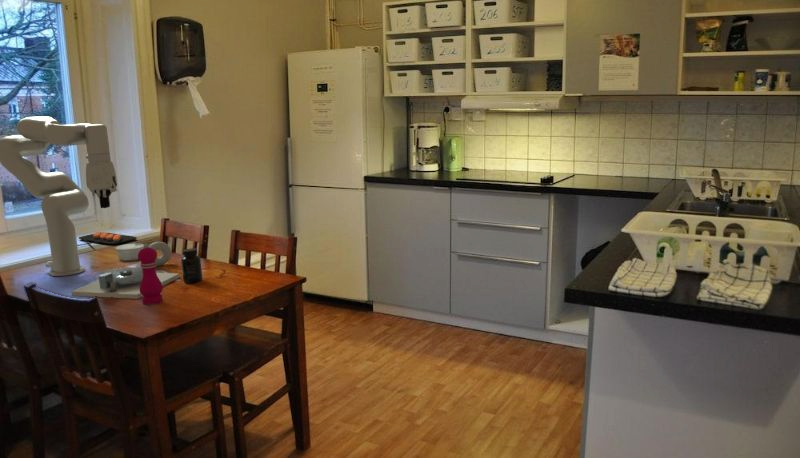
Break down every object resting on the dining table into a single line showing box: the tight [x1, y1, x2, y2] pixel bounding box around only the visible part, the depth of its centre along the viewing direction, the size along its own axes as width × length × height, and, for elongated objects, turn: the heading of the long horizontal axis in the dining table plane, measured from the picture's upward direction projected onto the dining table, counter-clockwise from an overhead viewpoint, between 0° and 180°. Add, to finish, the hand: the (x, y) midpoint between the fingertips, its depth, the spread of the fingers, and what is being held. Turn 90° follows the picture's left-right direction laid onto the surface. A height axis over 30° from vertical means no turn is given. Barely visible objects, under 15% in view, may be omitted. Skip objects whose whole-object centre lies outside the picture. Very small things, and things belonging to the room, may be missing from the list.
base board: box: [71, 272, 180, 300], centre depth 239 cm, size 26×26×3 cm
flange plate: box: [98, 267, 143, 289], centre depth 236 cm, size 22×18×4 cm
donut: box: [149, 241, 172, 267], centre depth 266 cm, size 10×3×10 cm, turn 126°
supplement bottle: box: [180, 248, 203, 285], centre depth 242 cm, size 7×7×12 cm
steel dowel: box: [109, 281, 117, 292], centre depth 228 cm, size 2×2×4 cm
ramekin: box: [115, 243, 144, 262], centre depth 280 cm, size 11×11×5 cm
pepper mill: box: [137, 243, 164, 305], centre depth 218 cm, size 7×7×20 cm
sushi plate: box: [77, 231, 137, 251], centre depth 311 cm, size 29×30×4 cm
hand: (105, 207), depth 246 cm, fingers closed
